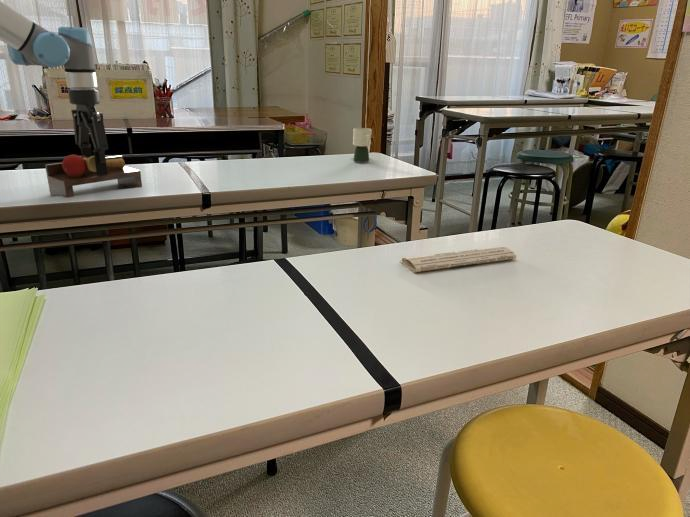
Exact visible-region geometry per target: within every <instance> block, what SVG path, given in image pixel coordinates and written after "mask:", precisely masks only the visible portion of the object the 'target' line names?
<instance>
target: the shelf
mask: <svg viewBox="0 0 690 517" xmlns="http://www.w3.org/2000/svg"><path fill="white" fill-rule="evenodd" d="M105 158H106V160H109V159H120V158H122V159H123V160H124V158H123V155H114V156H105ZM44 167H45V174H46V179H47V184H48V190H49V194H50V195H51V196H53V197H64V198H67V199H68V198H72V197H73V198H74V197H75V194H74V193H75V192H74V188H73V187H74V186H81V185H82V186H83V185H87V184H88V185H89V184H93V183H94V184H95V183H101V182H108V181H114V180H117V184H118V185H121V186H124V187H127V188H130V189H136V188H137V189H138V188H143V183H142V174H141V173H142V172H141V170H139V169H136V168H133V167H130V166H124V168H107V172H108V174H103V175H97V172H91V171H89V172H87V173H84V174H82V175H81V176H78V177H73V176H70V175H68V174H67V173H65V171H64V170H63V167H62V162H55V163H48V164H44Z"/></svg>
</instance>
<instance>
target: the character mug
mask: <svg viewBox="0 0 690 517" xmlns="http://www.w3.org/2000/svg"><path fill="white" fill-rule="evenodd" d="M352 131H353V132H352V145H353V146H355V148H354V154H353V162H359V161H360V162H370V153H369V148H368V147H369V146H371V145H372V140H371V138H372V128H368V127H354V128H353V130H352ZM360 162H359V163H360Z"/></svg>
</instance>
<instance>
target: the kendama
mask: <svg viewBox="0 0 690 517" xmlns="http://www.w3.org/2000/svg"><path fill="white" fill-rule="evenodd" d="M122 158H123V157H122ZM122 158H120V159H109V160H106V165H107V168H124V166H125V165H126V162H125V160H124V158H123V159H122ZM61 163H62V167H63V170H64V171H65V173H67V174H68V175H70V176H73V177H78V176H81V175H82V174H84V173H87V172H89V171H91V172H97V170H96V164H95V157H94V155H92V156H91V157H89V158H88V157H86V156H82V155H77V154H69V155H67V156H66V157H64V158H63V160H62V162H61Z"/></svg>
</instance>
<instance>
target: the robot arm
mask: <svg viewBox="0 0 690 517" xmlns="http://www.w3.org/2000/svg"><path fill="white" fill-rule="evenodd" d="M0 41H1V42H3V43H4V44H6V47H7V48H6V49H7V53H8V55H9V58H10V60H11V62H12V64H14V65H17V66H26V67H28V66H40V67H47V68H52V69H53V68H57V67H61V66H63V68H64V76H65V82H66V83H65V84H66V87H67V88H68V91H67V93H68V100H69V103H70V104H71V105H75V107H76V108H75V109H71V110H70V111H71V116H72V122H73V131H74V132H73V133H74V141H75V144H76V145H78V147H79V148H80V154H81V155H80V156H86V157H88V158H89V157H91V156H94V157H95V164H96V170H97V175H103V174H108V172H107V165H106V158H105V157H106V153H105V152H106V151H107V150H109V143H108V139H107V138H108V137H107V133H106V128H105V124H104V114H103V112H98V111H97V108H96V105H99V104H100V103H101V98H100V93H99V90H98V89H97V88H98V79H99V78H98V75H97V72H96V65H95V57H94V49H93V47H94V46H93V43H92V37H91V33H90V31H89V29H87V28H85V27H80V26H79V27H78V26H59V27H58V29H57V33H56V32H53V31H48V30H47V29H46V28H44V27H42V26H41V25H39V24H37V23H36V22H34V21H33V20H31V19H30V18H28V17H26V16H25V15H23V14H22V13H21V12H18V10H16V9H14V8H12V7H11V6H9V5H7V4H6V3H4V2H3V1H1V0H0ZM90 139H91V142H92V144H91V143H90ZM92 145H93V148H94V149H93V150H92Z"/></svg>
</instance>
